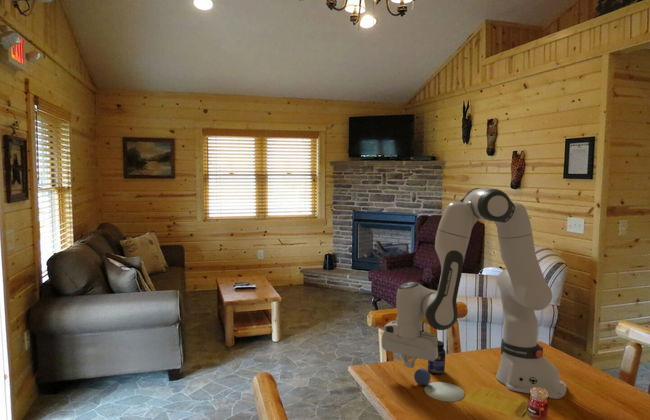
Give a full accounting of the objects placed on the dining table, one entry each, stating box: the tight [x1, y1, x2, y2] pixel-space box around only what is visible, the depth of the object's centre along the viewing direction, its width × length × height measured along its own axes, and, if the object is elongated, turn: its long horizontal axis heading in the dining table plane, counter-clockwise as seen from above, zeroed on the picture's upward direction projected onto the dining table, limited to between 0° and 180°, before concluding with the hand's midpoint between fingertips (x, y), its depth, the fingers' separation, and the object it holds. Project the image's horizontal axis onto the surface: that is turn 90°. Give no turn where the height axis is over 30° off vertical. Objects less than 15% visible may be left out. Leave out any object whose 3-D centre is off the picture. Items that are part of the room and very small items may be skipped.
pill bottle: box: [427, 340, 446, 376], centre depth 167 cm, size 6×6×11 cm
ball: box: [413, 368, 431, 386], centre depth 157 cm, size 6×6×6 cm
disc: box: [423, 381, 465, 403], centre depth 152 cm, size 13×13×1 cm
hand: (409, 366), depth 160 cm, fingers closed
